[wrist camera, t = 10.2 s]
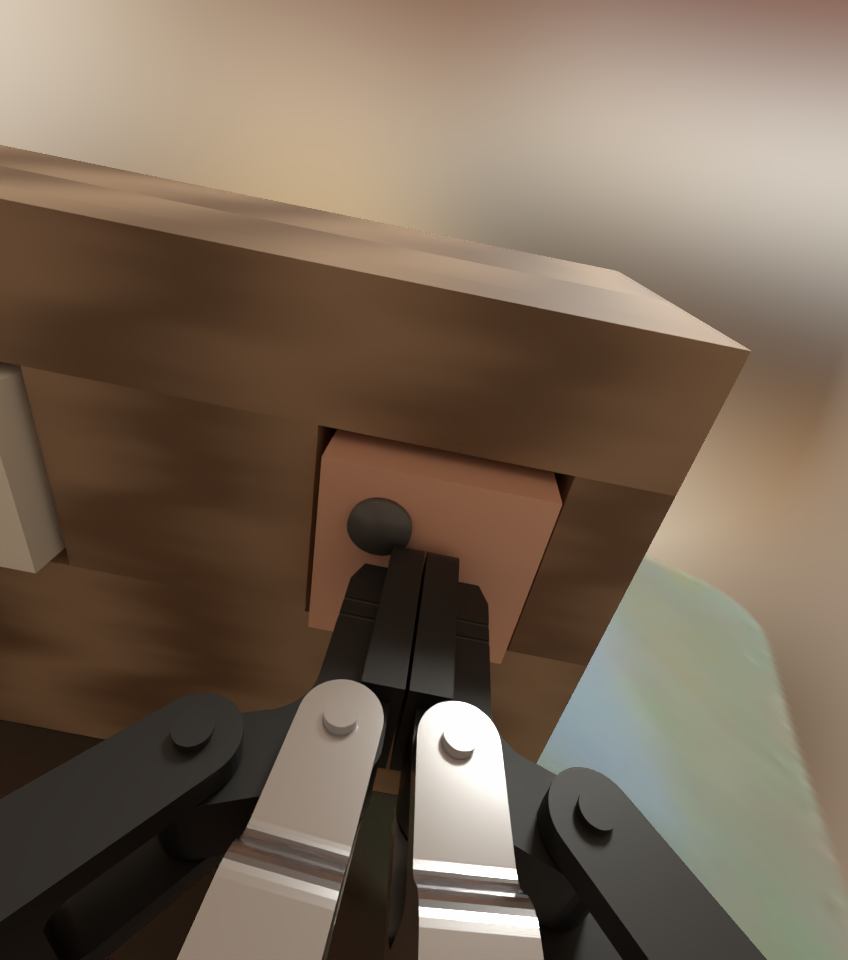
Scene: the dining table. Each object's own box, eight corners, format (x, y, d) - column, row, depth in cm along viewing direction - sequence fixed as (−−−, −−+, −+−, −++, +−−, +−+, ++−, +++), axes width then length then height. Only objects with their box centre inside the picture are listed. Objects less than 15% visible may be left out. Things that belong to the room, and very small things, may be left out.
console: (-107, 699, 18) (-460, 104, 9) (85, 530, 26) (1, 145, 17) (508, 816, 18) (751, 351, 9) (498, 611, 26) (617, 271, 18)
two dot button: (305, 632, 13) (318, 460, 10) (350, 515, 17) (367, 376, 14) (501, 670, 13) (564, 509, 10) (494, 544, 17) (537, 409, 15)
